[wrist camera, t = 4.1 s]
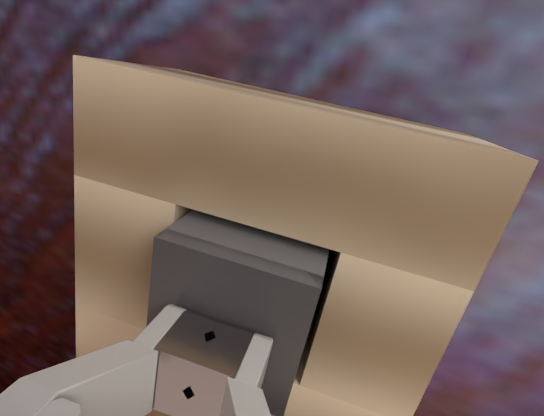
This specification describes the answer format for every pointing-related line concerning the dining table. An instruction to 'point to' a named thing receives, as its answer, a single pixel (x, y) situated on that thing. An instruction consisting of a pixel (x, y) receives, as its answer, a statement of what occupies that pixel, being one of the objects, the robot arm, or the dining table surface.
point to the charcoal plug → (242, 286)
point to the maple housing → (290, 217)
